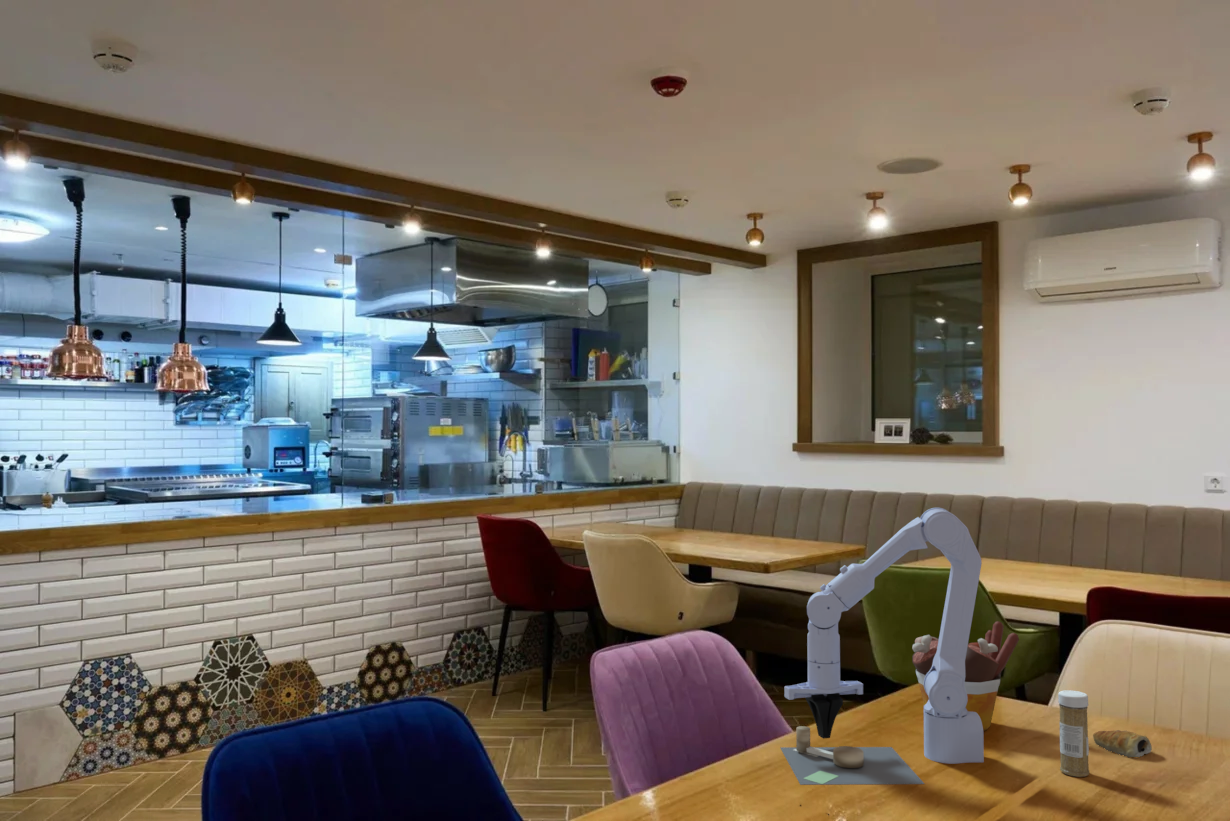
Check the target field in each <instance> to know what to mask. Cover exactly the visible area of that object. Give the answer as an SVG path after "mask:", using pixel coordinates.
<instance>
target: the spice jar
mask: <svg viewBox="0 0 1230 821" xmlns="http://www.w3.org/2000/svg"><path fill="white" fill-rule="evenodd" d="M1057 695H1058V697H1057V698H1058V706H1059V752H1060V766H1059V770H1060V772H1061V773H1063V774H1065V775H1068V776H1070V777H1074V778H1075V777H1077V778H1083V777H1088V776H1089V774H1090V769H1089V764H1090V763H1089V755H1090V750H1089V748H1090V746H1089V736H1088V735H1089V734H1088V732H1089V730H1088V729H1089V728H1088V725H1089V724H1088V706H1089V696H1088V694H1087V693H1085V692H1082V691H1078V690H1070V689H1069V690H1067V689H1065V690H1061V691H1059V692H1058V694H1057Z"/></svg>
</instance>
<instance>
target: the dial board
mask: <svg viewBox="0 0 1230 821" xmlns="http://www.w3.org/2000/svg"><path fill="white" fill-rule="evenodd" d="M836 747H837V746H833V747H832V746H831V747H830V746H825V747H824V746H821V747H816V746H815V748H819V749H822V750H826V751H830V752H833V749H834V748H836ZM855 747H856V748H859V749H861V750H863V752H864V765H863V766H862V767H858V768H845V767H840V766H838V765H836V764H834V762H833V759H831V758H827V757H823V756H820V755H816V754H812V753H809V752H799V751H797V747H792V746H791V747H790V746H789V747H783V746H782V747H781V746H780V750H781V752H782V754H783V756H784V757H785V759H786V761H787V763H788V765H789V766H790V768H791V771H792V772H793V774H794V775H795V777H796V780H797V782H798V783H799V785H800V786H802V785H809V786H811V785H813V786H814V785H815V786H816V785H825V786H827V785H828V786H829V785H834V786H835V785H839V786H840V785H841V786H842V785H845V786H846V785H847V786H848V785H925V782H924V781H923V780H922V779H921V778H920V777H919V776H918V775H917V773H916V772H915V771H914V770H913V769H912V768H911V767H910V766H909V765H908V763H906V762H905V760H904V759H903V758H902V757H901V756H900V755H899V754H898V752H897V751H896V750H895V749H894V748H893V747H892V746H855Z"/></svg>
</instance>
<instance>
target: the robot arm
mask: <svg viewBox="0 0 1230 821" xmlns="http://www.w3.org/2000/svg"><path fill="white" fill-rule="evenodd" d="M969 530H970V529H969V528H968V527H967V526H966V525H965V523H963V521H961V519H960V518H958V517H957V516H956V515H955V514H953V513H952V512H950V511H949V510H947V509H945V508H942V507H932V508H929V509H927V510H925V511H924V512H923V513H922V514H921V515H920V517H919V516H917V517H916V518H913V519H912V520H911V521H910V522H908V523H907V524H906V525H904V526H903V527H902V528H901V529H899V530H898V531H897V532H896V533H895V534H894V535H893V536H892V537H891V538H890V539H888V540H887V541H886V542H885V543H884V544H883V545H881V547H880V548H878V549H877V550H876V551H875V552H874V553H873V554H872V555H871V556H870V557H869V558H868V559H866V560H865V561H864V562H863V563H850V564H848V566H847V565H845V564H844V565H842V567H840V568H839V574H838V575H836V576H835V577H833V579H831V580H830V582H828V583H827V584H825V583H823V584H822V585H821V586H819V589H820V590H821V591H817V592H815V593H813V594H812V595H810V597H809V598H808V600H807V601H808V602H807V605H806V615H807V617H808V623H807V630H808V633H807V638H806V639H807V643H806V646H807V657H806V658H807V659H806V660H807V681H806V682H801V683H797V684H792V685H785V686H784V695H783V696H784V698H785V699H787V700H789V701H790V700H795V699H802V698H803V699H804V698H805V700H806V702H807V705H808V706H809V708H810V711H811V713H812V716H813V718H814V722H815V724H816V725H815V726H816V730H817V734H818V736H819V737H820V738H821V739H830V738H831V736H832V730H833V726H834V725H835V724H834V723H835V720H836V718H837V716H838V713H839V711H840V709H841V708H842V706H843V705H844V699H843V698H842V697H841V696H843V695H855V694H856V695H864V683H862V682H861V681H858V680H845V681H844V680H841V640H840V639H841V635H840V634H839V622H840V620H841V617H842V613H843V612H847V611H849V610H850V609H851V608H852V607H854V606H855V605H856V604H857V603H859V601H861V600H862V599H863V598H864V597H865V596H867V595H868V594H869V593H871V591H873V590H874V589H875V580H876V578H877V577H879V575H881V573H883V572H884V571H885V570H887V569H888V568H889V567H890V566H892V565H893V564H894V563H896V562H897V561H898V560H900V558H902V557H903V556H905V555H906V554H907V553H908V552H910V551H916V550H925V549H929V548H928V545H927V543H926V542H928V543H930V544H931V545H932V546H934V547H935V548H936V549H938V551H939V550H940V552H941V553H942V554H943V555H944V557H945V559H947V561H948V562H949V563H950V569H949V571H950V572H949V576H948V577H949V578H948V582H947V588H946V595H945V599H944V600H945V601H944V605H943V606H944V607H943V612H942V618H941V624H940V630H939V636H938V639H939V641H938V646H937V652H936V654H935V656H934V659H933V664H932V667H931V669H930V671H929V672H928V673H927V674H926V676H925V678H924V689H925V692H926V693H927V695H928V697H929V700H928V702H927V703H926V704H925V705H924V704H923V754H924V757H925V758H926V759H928V760H930V761H933V762H937V763H939V764H940V763H941V764H948V765H949V764H950V765H951V764H952V765H953V764H955V765H956V764H965V763H984V762H985V761H984V760H985V759H984V758H985V757H984V756H985V755H984V752H985V751H984V749H985V747H984V746H985V745H984V742H985V741H984V731H983V726H982V722H981V719H980V717H979V715H978V714H977V713H976V712H971V711H967V709H966V708H965V707H966V705H967V701H968V697H967V693H966V690H965V685H964V684H965V658H966V652H967V646H968V644H969V639H970V634H971V627H972V622H973V616H974V611H975V605H976V597H977V592H978V587H979V581H980V575H981V569H982V564H983V563H982V557H981V555H980V552H979V551H978V548H977V547H976V545H975V543H974V540H973V538H972V536H971V534H970V531H969ZM840 695H841V696H840Z"/></svg>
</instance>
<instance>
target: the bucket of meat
mask: <svg viewBox="0 0 1230 821" xmlns="http://www.w3.org/2000/svg"><path fill="white" fill-rule="evenodd" d="M1004 629H1005V628H1004V624H1003V623H1002V622H1001V621H995V622H994V623H993V624H992V630H991V629H988V630H987V632H986V633H985V637H984V638H982V637H980V638H978V639H977V642H970V643H969V642H968V646H967V652H966V658H965V684H964V685H965V690H966V693H967V697H968V701H967V705H966V707H965V708H966V709H967V711H971V712H976V713H977V714H978V715H979V717H980V719H981V722H982V726H983V732H984V731H987V730H988V729H989V728H990V727H991V725H992V724H991V723H992V720H993V715H994V710H995V706H996V700H997V697H998V696H997V695H998V691H999V686H1000V684H1001V675H1002V672H1003V670H1004V669H1005V667H1006V665H1007V663H1008V662H1009V660H1010V658H1011V656H1012V654H1013V652H1014V650H1015V648H1016V646H1017V645H1018V643H1019V640H1020V638H1019V634H1017V633H1016V632H1015V633H1014V632H1012V633H1010V634H1008V635H1007V638H1006V639H1005V641H1004V643H1003V645H1002V642H1003V641H1002V640H1003V635H1004ZM938 641H939V638H938V637H935V636H931V635H930V634H926V635H923V636H919V637H916V638H915V640H914V643H913V644H912V648H911V649H912V651H913V652H914V653H913V654H912V664H913V666H914V667H915V674H916V678H917V681H918V684H919V688H920V689H919V690H920V694H921V698H922V702H923V706H924V705H925V704H926V703H927V702H928V700H929V697H928V695H927V693H926V692H925V689H924V678H925V676H926V674H927V673H928V672H929V671H930V669H931V667H932V664H933V659H934V656H935V654H936V652H937V646H938ZM1001 645H1002V646H1001Z"/></svg>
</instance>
